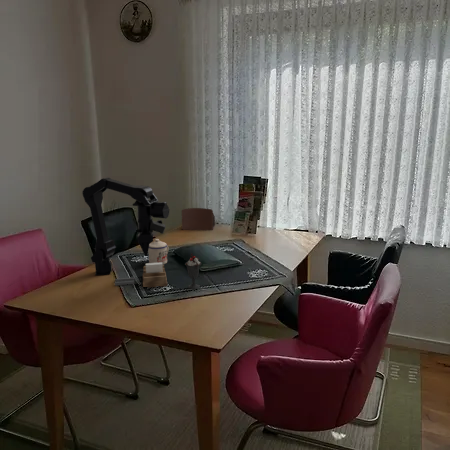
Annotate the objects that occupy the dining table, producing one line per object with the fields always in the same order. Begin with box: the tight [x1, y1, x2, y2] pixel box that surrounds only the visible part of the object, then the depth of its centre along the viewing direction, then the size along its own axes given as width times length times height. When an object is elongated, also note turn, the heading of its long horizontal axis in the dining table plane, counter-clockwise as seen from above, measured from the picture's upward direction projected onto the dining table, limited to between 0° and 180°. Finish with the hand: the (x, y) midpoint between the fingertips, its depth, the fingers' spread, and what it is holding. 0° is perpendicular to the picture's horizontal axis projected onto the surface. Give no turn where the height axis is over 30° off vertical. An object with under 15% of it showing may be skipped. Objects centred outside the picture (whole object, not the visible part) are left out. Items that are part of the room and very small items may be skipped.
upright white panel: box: [145, 262, 164, 273], centre depth 182 cm, size 7×2×6 cm, turn 101°
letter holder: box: [181, 207, 216, 231], centre depth 271 cm, size 10×20×14 cm, turn 84°
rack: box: [142, 264, 169, 288], centre depth 182 cm, size 10×15×4 cm, turn 11°
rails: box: [114, 277, 136, 286], centre depth 180 cm, size 8×5×1 cm, turn 101°
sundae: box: [184, 254, 202, 290], centre depth 173 cm, size 7×7×15 cm
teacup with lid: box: [148, 238, 169, 265], centre depth 206 cm, size 12×9×12 cm
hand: (146, 251), depth 183 cm, fingers open, 9 cm apart
